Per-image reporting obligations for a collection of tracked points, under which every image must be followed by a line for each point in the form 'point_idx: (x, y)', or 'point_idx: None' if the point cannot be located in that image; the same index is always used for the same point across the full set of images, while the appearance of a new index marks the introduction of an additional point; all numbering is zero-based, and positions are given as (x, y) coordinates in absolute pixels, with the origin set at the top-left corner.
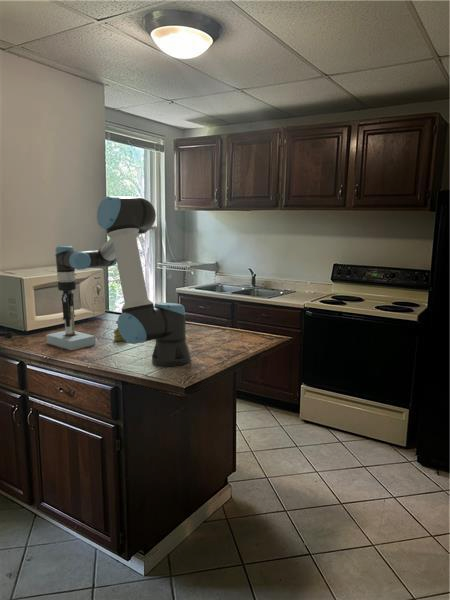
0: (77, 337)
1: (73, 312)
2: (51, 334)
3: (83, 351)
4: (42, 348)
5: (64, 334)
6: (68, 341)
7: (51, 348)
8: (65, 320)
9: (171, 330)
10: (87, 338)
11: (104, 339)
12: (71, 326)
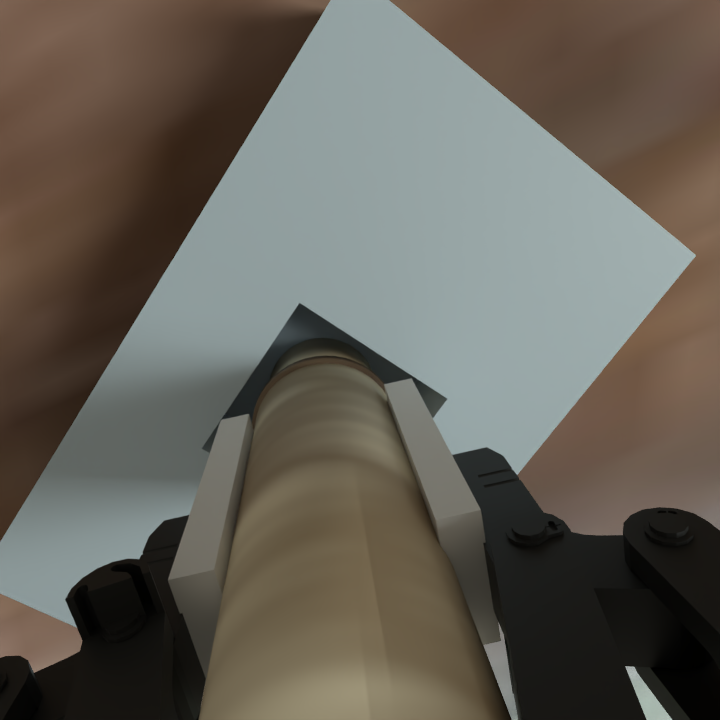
0: None
1: (655, 689)
2: (366, 73)
3: (21, 641)
4: (47, 86)
5: (370, 312)
6: (11, 526)
7: (71, 223)
8: (177, 576)
9: None
10: None
11: None
12: None
